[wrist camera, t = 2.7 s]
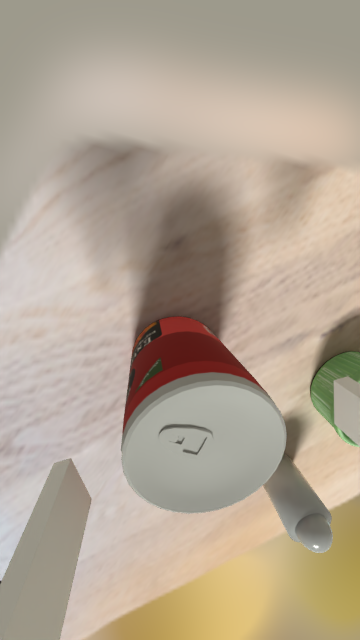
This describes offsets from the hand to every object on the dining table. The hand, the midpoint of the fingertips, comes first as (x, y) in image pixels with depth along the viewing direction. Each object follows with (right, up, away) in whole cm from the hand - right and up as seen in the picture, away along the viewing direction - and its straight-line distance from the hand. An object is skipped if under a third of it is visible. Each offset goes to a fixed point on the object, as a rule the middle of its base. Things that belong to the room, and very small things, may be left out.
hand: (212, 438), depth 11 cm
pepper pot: (+10, -12, +16) cm, 22 cm away
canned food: (-2, +3, +10) cm, 10 cm away
